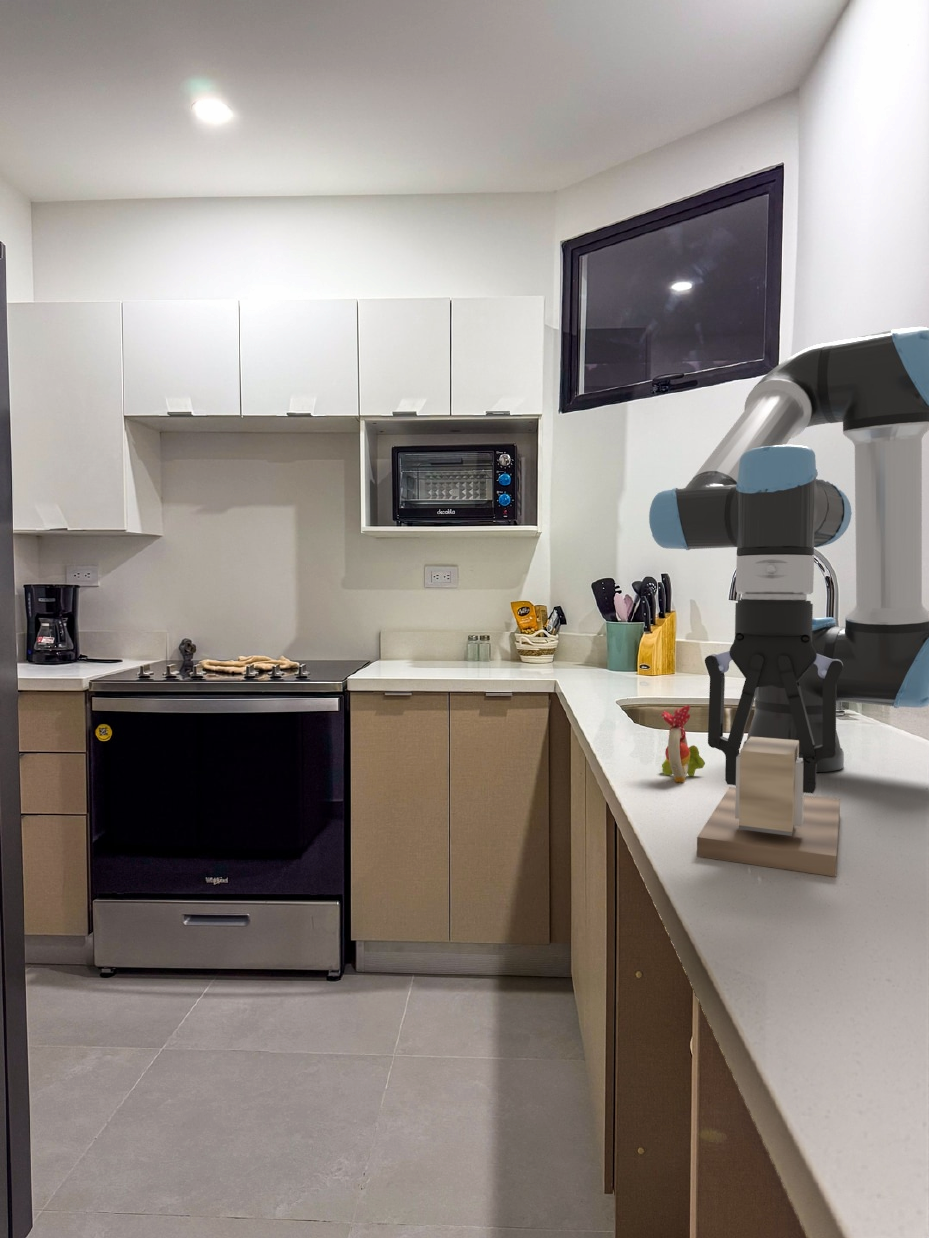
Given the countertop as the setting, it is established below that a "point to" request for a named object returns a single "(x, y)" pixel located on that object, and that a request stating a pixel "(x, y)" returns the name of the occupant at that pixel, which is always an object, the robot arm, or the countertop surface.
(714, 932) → the countertop surface
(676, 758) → the bird rattle
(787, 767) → the block
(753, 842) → the walnut board
